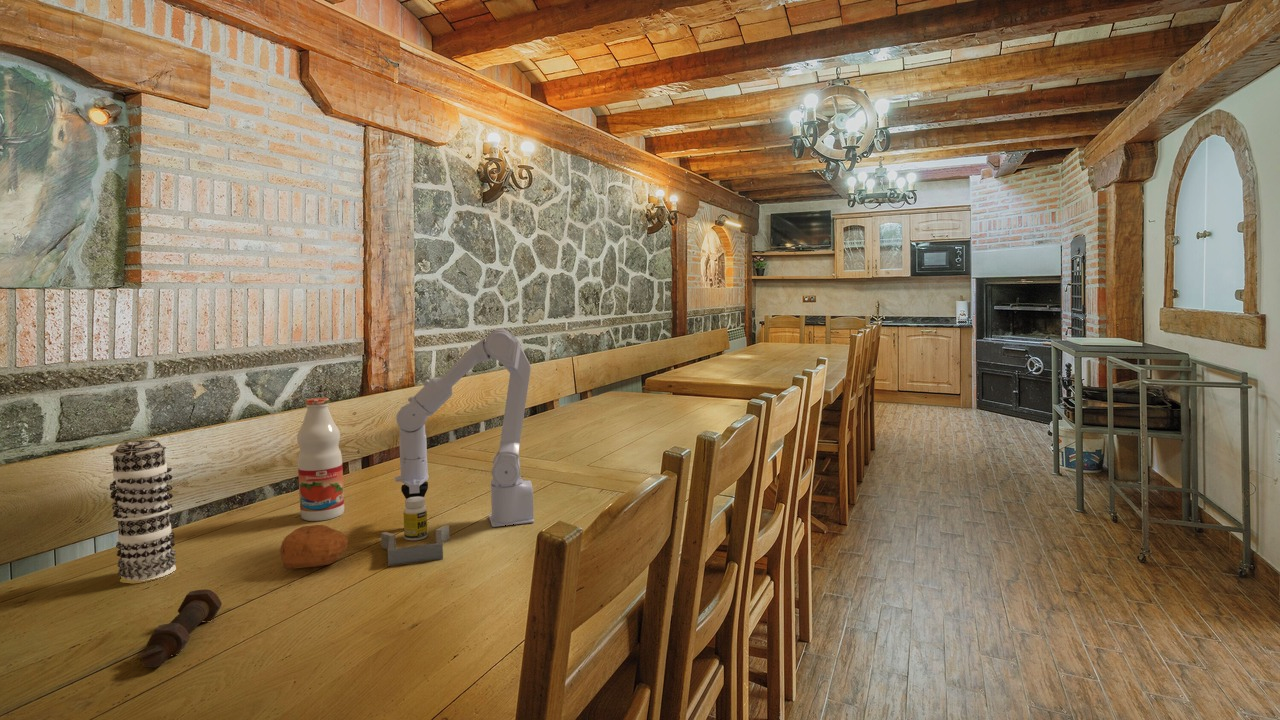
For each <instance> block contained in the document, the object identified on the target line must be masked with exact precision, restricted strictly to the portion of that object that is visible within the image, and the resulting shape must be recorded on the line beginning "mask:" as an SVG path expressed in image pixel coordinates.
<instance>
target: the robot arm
mask: <svg viewBox="0 0 1280 720" xmlns="http://www.w3.org/2000/svg"><path fill="white" fill-rule="evenodd" d="M491 358H492V359H495V360H496V361H498V362H500V363H501V364H502V366H504V368H505V369H506V370H507V372H508V373H509V379H508V380H509V381H508V386H507V392H506V400H505V408H504V412H503V421H502V428H501V435H500V440H499V441H500V443H499V448H498V451H497V453H496V454H495V455H494V458H493V461H492V469H491V476H492V479H491V480H490V497H491V498H490V501H491V502H490V503H491V513H490V514H489V513H488V515H487V516H488V519H489V523H490V525H491V527H492V528H495V527H496V528H497V527H503V526H504V527H505V525H506V526H512V525H513V524H514V525H522V524H529V523H535V519H534V514H535V513H534V511H535V510H534V489H533V484H532V481H531V480H523V477H521V459H520V455H519V454H520V447H521V446H520V445H521V440H522V439H521V438H522V431H523V423H524V418H525V410H526V404H527V398H528V390H529V384H530V379H531V378H530V376H531V369H532V367H531V364H530V361H529V360H528V358H527V356H526V354H525V352H524V350H523V348H522V346H521V344H520V342H519V340H518V339H517V338H516V336H514V335H513V334H512V333H511V332H510V331H508V330H507V329H504V328H497V329H494V330H492V331H491V332H490V333H489V334H488V335H487V336H486V337H484V338H482V339H480V340H479V341H478V342H477V343H475V344H474V345H472V346H471V347H470V348H469V349H468V350H467V351H466V352H465V353H464V354H463V355H462V356H461V357H460V358H459V359H458V361H456V363H454V364H453V366H452V367H450V369H448V371H447V372H445V374H444V375H443V376H442V377H432V378H431V379H426V380H425V381H424V382H423V383H422V384H423V387H422V388H421V389H420V390H419V391H418V392H417V393H416V394H414V396H410V397H409V398H408V399H407V401H408V403H406V404H404V406H401V407H400V409H399V410H398V412H397V414H396V423H397V426H398V427H399V429H398V431H399V439H398V440H399V441H398V442H399V444H398V445H399V466H400V468H399V469H400V476H395V477H394V481H395V483H398V482H400V483H402V485H401V487H400V492H401V493H402V494H403V496H404V498H405V500H406V499H407V498H410V497H418V496H419V497H424V498H425V495H426V494H427V491H428V489H429V482H428V481H427V480H429V477H430V476H429V470H428V449H427V448H428V446H427V445H428V444H427V435H426V424H425V423H426V422H427V420H428V417H430V416H433V415H434V414H435V413H436V412H437V411H438V410H439V409H440V408H441V407H442V406H443V405H444V404H445V403H446V402H447V401H448V400H449V399H450V398H451V397H452V396H453V387H454V385H456V383H458V382H459V381H460V380H461V379H462V378H463V377H464V376H466V374H467V373H468V372H469V371H471V370H472V369H473V367H475V366H476V365H477V364H479V363H483V362H487V361H490V359H491Z"/></svg>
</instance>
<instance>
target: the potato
mask: <svg viewBox="0 0 1280 720" xmlns="http://www.w3.org/2000/svg"><path fill="white" fill-rule="evenodd" d="M348 545H349V539H348V537H347V536H346V535H345V534H344V533H343V532H342V531H340V530H337V529H334V528H331V527H329V526H327V525H324V524H313V525H305V526H304V525H303V526H300V527H298V528H296V529H294V530H293V531H291V532H290V533H289V534H287V535H286V536H285V537H284V539H283V540H282V541H281V545H280V548H279V555H280V561H281V563H282V565H284V567H286V568H287V569H300V568H315V567H316V568H317V567H322V566H328V565H330V564H333V563H335V562H337V560H338V559H340V558H341V557H342V555H343V554H344V553H345V551H346V549H347V547H348Z"/></svg>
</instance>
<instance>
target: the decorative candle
mask: <svg viewBox="0 0 1280 720" xmlns="http://www.w3.org/2000/svg"><path fill="white" fill-rule="evenodd" d="M166 449H167V446H165V445H162V444H161V443H160V442H159V441H158V440H155V439H139V440H132V441H126V442H122V443H120V444H119V445H117V446H116V449H115V450H114V451H112V452H110V454H109V455H110V456H112V463H113V464H112V465H113V469H112V478H113V479H114V480H113V481H112V482H111V483H110V484H109V490H110V491H111V492H110V496H109V498H110V499H113V500H114V502H113V503H112V504H111V506H112V507H111V509H112V510H113V512H112V514H113V515H112V517H113V518H114V520H116V521H117V525H118V526H117V527H118V532H117V542H116V545H115V547H116V549H119V550H117V551H116V556H117V557H120V558H119V559H118V560H117V563H116V564H117V567H118V571H117V575H119V577H120V576H122V577H123V578H125V579H127V580H132V581H138V580H139V581H145V580H150V579H155V578H159V577H163V576H165V575H168V574H170V573H172V572H173V571H175V570H176V571H177V567H176V566H177V565H176V563H177V558H176V557H175V556H176V555H177V553H176V551H177V550H176V549H174V548H173V547H174V546H176V544H175V542H176V541H175V540H173V539H174V538H175V533H174V532H173V531H172V523H171V521H170V512H171V511H172V508H173V504H171V503H169V502H168V500H171V499H172V498H173V497H174V496H173V494H172V493H171V492H170V491H171V490H173V486H172V485H169V483H167V481H168V482H169V481H171V480H172V479H173V475H172V474H170V472H172V467H168V465H167V464H168V463H167V462H166V454H165V453H166V451H165V450H166ZM169 492H170V493H169ZM176 571H175V572H176ZM173 573H174V572H173ZM173 573H172V574H173ZM168 576H169V575H168Z"/></svg>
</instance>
